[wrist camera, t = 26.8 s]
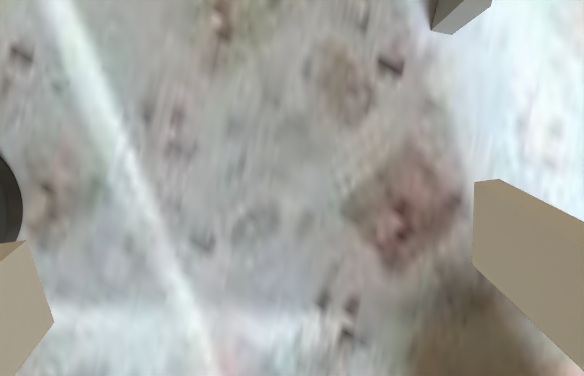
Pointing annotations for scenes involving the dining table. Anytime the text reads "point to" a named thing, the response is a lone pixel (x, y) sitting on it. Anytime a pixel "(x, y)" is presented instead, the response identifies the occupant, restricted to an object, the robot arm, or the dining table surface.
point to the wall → (456, 14)
